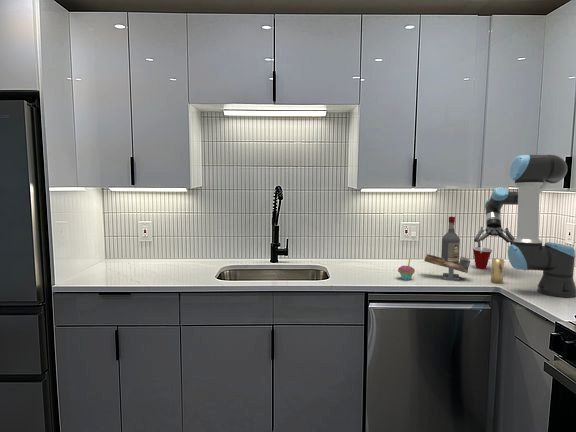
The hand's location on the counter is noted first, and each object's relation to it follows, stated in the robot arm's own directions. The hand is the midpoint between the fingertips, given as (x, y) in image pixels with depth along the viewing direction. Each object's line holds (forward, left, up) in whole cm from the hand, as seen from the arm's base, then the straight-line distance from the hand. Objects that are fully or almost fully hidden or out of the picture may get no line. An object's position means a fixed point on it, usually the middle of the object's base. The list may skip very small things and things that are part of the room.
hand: (495, 252), depth 205 cm
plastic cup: (+15, -19, -14) cm, 28 cm away
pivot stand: (+15, +18, -14) cm, 27 cm away
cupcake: (+30, +38, -14) cm, 51 cm away
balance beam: (+18, +20, -7) cm, 27 cm away
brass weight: (-5, +8, -14) cm, 17 cm away
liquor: (+32, -14, -14) cm, 37 cm away
